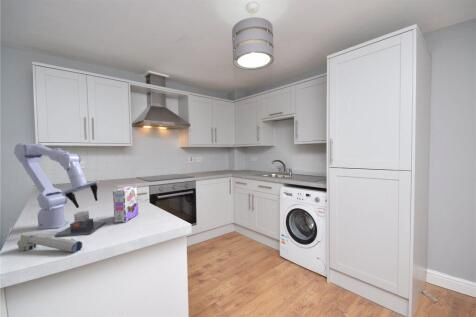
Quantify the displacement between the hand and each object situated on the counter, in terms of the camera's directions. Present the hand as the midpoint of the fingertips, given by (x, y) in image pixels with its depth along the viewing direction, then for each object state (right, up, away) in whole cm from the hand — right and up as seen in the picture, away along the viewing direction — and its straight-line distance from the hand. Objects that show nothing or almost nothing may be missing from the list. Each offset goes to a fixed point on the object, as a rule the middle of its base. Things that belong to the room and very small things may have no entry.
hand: (87, 204), depth 101 cm
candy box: (+12, -11, +14) cm, 21 cm away
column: (-1, -10, -1) cm, 11 cm away
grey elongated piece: (+1, -13, -21) cm, 25 cm away
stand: (-1, -12, -1) cm, 12 cm away
